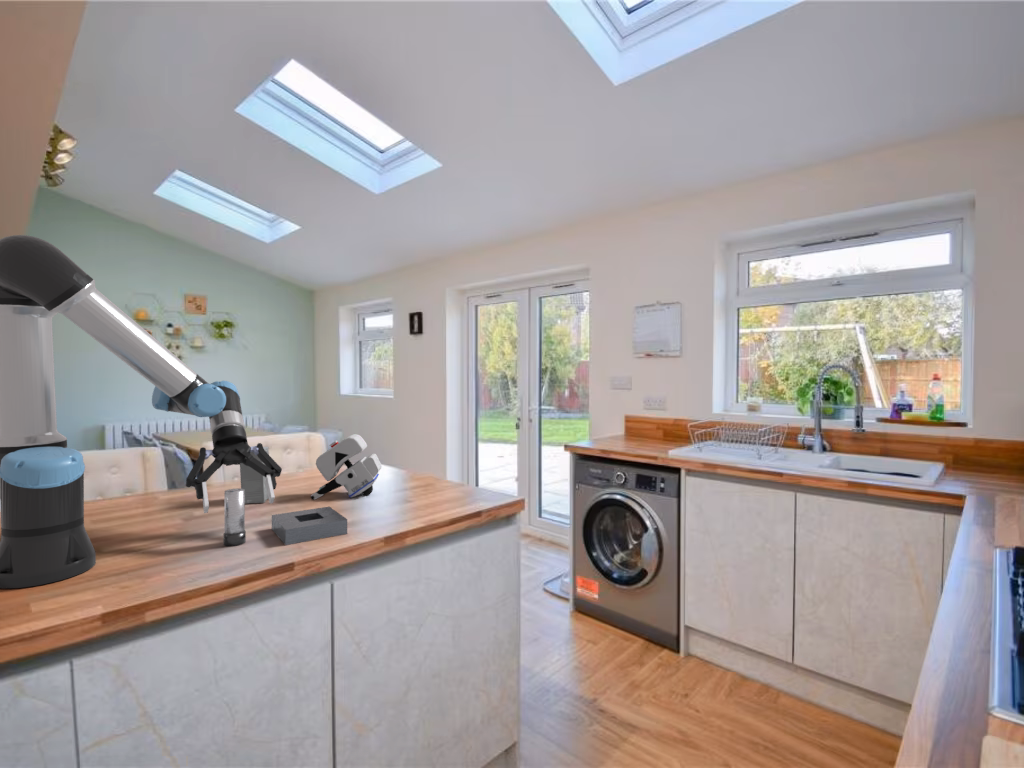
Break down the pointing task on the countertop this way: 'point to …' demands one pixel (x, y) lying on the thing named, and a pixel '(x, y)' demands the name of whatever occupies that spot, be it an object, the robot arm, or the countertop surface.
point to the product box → (253, 482)
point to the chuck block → (308, 525)
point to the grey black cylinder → (234, 517)
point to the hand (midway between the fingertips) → (240, 505)
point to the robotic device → (355, 476)
